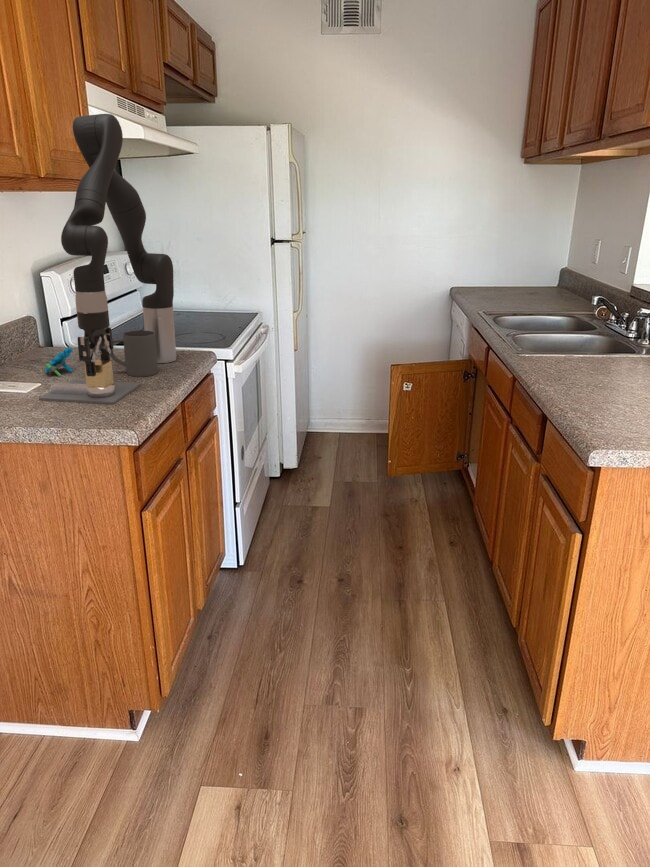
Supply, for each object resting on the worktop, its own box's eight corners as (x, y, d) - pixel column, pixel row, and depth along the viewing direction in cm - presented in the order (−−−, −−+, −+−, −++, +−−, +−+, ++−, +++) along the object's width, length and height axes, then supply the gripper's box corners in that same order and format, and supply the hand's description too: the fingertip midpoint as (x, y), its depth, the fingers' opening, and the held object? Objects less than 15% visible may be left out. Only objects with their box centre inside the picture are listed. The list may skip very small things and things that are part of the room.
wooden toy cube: (95, 381, 170) (93, 359, 168) (113, 382, 169) (111, 360, 167) (86, 387, 165) (84, 364, 163) (105, 388, 165) (102, 365, 163)
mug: (159, 369, 196) (156, 330, 192) (156, 376, 188) (153, 336, 183) (113, 369, 194) (109, 330, 190) (108, 377, 186) (104, 336, 182)
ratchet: (61, 387, 173) (58, 368, 171) (119, 391, 171) (117, 371, 169) (47, 395, 166) (44, 374, 164) (108, 398, 164) (106, 378, 163)
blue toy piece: (59, 361, 196) (74, 341, 191) (73, 375, 197) (89, 355, 192) (35, 375, 187) (51, 354, 182) (50, 389, 188) (66, 369, 183)
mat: (73, 381, 181) (73, 379, 181) (141, 385, 179) (141, 383, 179) (39, 400, 164) (38, 397, 164) (113, 404, 162) (113, 402, 162)
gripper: (91, 304, 168) (97, 364, 173) (63, 313, 154) (71, 378, 160) (118, 305, 167) (124, 365, 172) (93, 314, 153) (100, 379, 159)
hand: (99, 371), depth 166 cm, fingers open, 8 cm apart
